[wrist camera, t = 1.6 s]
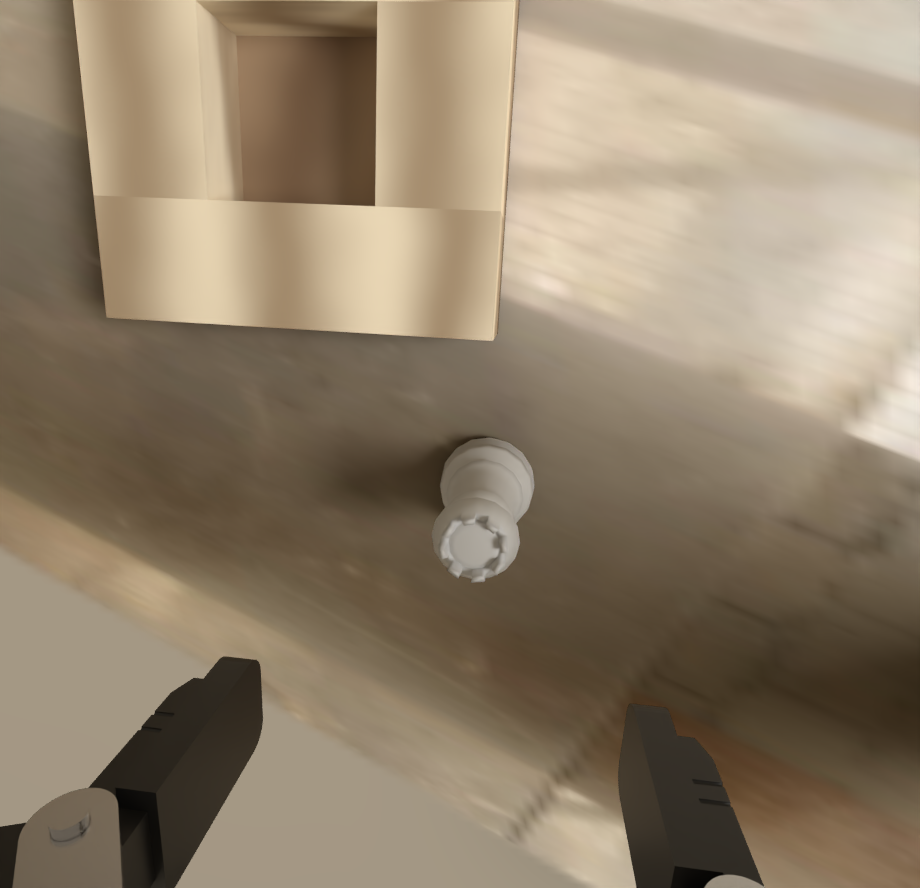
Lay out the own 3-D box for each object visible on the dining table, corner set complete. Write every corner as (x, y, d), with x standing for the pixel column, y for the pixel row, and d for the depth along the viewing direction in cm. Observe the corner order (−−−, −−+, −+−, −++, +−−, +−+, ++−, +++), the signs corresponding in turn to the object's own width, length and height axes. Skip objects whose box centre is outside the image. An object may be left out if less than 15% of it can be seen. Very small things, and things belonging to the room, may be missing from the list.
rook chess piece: (440, 518, 29) (409, 600, 21) (444, 431, 28) (412, 485, 20) (531, 526, 29) (531, 612, 21) (538, 438, 27) (541, 495, 20)
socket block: (525, -92, 22) (524, -172, 18) (497, 333, 26) (492, 340, 23) (132, -88, 24) (55, -160, 20) (164, 313, 28) (106, 317, 24)
